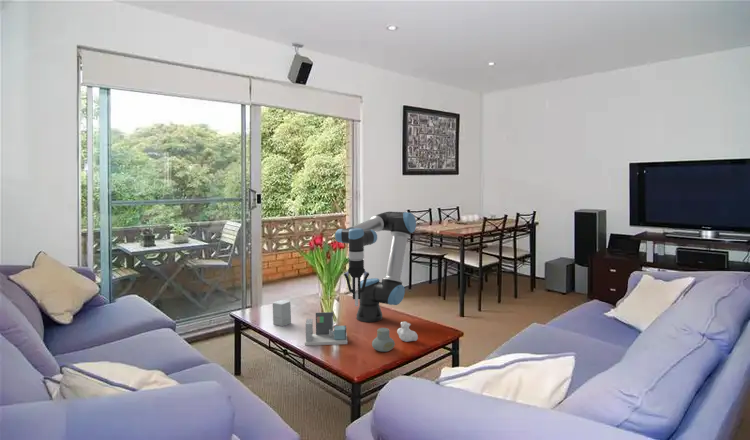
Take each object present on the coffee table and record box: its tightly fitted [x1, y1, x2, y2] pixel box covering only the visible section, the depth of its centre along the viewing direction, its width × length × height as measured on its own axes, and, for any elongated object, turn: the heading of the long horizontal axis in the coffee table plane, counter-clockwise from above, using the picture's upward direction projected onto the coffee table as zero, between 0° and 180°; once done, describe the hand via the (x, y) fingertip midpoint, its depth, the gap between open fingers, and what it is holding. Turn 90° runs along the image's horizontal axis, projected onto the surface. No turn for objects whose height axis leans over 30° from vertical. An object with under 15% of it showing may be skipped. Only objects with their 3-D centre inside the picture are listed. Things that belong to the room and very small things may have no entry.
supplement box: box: [272, 299, 292, 327], centre depth 259 cm, size 7×7×13 cm
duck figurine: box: [396, 321, 419, 343], centre depth 232 cm, size 12×8×11 cm
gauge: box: [329, 315, 347, 340], centre depth 233 cm, size 9×8×10 cm
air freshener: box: [371, 327, 396, 353], centre depth 220 cm, size 11×8×10 cm
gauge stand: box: [304, 311, 348, 347], centre depth 232 cm, size 21×12×13 cm, turn 95°
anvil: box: [305, 318, 314, 342], centre depth 231 cm, size 3×8×9 cm, turn 5°
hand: (356, 305), depth 231 cm, fingers closed
